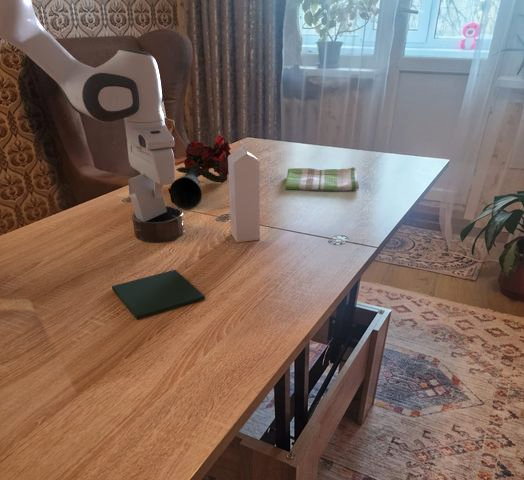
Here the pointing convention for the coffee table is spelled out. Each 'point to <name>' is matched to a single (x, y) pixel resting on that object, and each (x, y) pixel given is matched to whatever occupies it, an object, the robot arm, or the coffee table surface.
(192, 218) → the coffee table surface
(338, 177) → the dish towel
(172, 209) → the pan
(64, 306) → the coffee table surface
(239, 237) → the milk
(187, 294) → the mat
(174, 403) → the coffee table surface
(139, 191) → the white box
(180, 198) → the black vase with roses
